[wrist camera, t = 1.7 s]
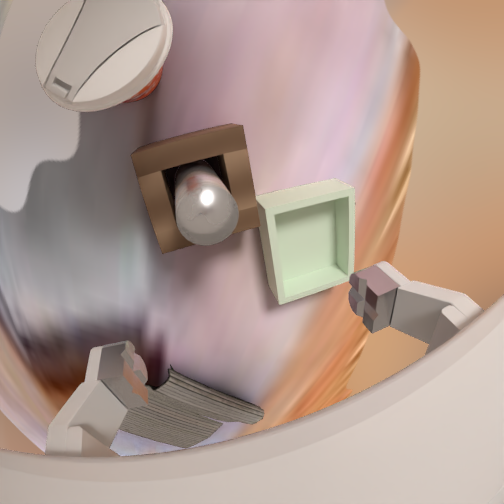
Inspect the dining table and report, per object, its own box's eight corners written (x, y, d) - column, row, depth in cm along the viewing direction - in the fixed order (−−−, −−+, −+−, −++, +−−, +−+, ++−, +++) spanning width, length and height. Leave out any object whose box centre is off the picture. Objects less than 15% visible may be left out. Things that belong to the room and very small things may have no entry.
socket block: (138, 147, 24) (130, 154, 19) (230, 123, 25) (242, 125, 21) (163, 231, 28) (162, 253, 24) (247, 208, 30) (260, 226, 26)
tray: (253, 196, 29) (264, 209, 26) (335, 178, 31) (354, 187, 27) (268, 285, 35) (279, 305, 32) (337, 263, 37) (353, 279, 34)
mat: (94, 410, 40) (93, 430, 36) (168, 354, 38) (170, 379, 34) (182, 442, 52) (185, 458, 48) (260, 399, 50) (267, 418, 46)
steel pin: (170, 164, 25) (168, 196, 16) (210, 154, 26) (232, 178, 17) (180, 202, 27) (185, 252, 18) (218, 191, 28) (243, 236, 19)
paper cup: (140, 126, 23) (107, 139, 11) (80, 91, 19) (4, 80, 7) (190, 61, 21) (208, 11, 9) (129, 25, 17) (96, -41, 5)
